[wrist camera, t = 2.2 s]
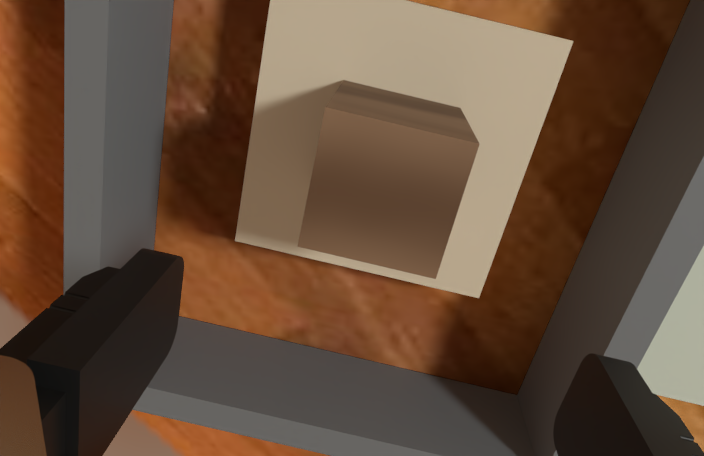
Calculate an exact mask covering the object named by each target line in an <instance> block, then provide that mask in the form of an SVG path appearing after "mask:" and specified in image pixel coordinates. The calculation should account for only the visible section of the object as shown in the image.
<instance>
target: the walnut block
mask: <svg viewBox="0 0 704 456" xmlns="http://www.w3.org/2000/svg"><path fill="white" fill-rule="evenodd" d="M478 147H479V142H478V140H477V138H476V136H475V134H474V132H473V131H472V129H471V127H470V125H469V123H468V121H467V119H466V117H465V116H464V114H463V112H462V110H461V108H459V107H455V106H450V105H446V104H442V103H438V102H434V101H430V100H425V99H421V98H417V97H413V96H409V95H405V94H400V93H396V92H392V91H388V90H384V89H379V88H375V87H371V86H367V85H363V84H359V83H354V82H350V81H346V80H343V81H342V83H341V84H340V86H339V87H338V89H337V90H336V92H335V93H334V95H333V96H332V98H331V99H330V101H329V102H328V104H327V105H326V107H325V111H324V116H323V121H322V126H321V131H320V136H319V141H318V146H317V151H316V156H315V161H314V166H313V171H312V176H311V181H310V186H309V191H308V196H307V201H306V206H305V211H304V216H303V221H302V226H301V231H300V236H299V241H298V246H297V247H301V248H306V249H310V250H314V251H318V252H322V253H327V254H331V255H335V256H339V257H344V258H348V259H352V260H356V261H361V262H365V263H369V264H373V265H378V266H382V267H386V268H390V269H395V270H399V271H403V272H407V273H412V274H416V275H420V276H424V277H429V278H433V279H436V277H437V274H438V271H439V268H440V264H441V261H442V258H443V255H444V252H445V249H446V246H447V243H448V240H449V237H450V234H451V231H452V228H453V224H454V221H455V218H456V215H457V212H458V209H459V206H460V203H461V200H462V197H463V194H464V191H465V187H466V184H467V181H468V178H469V175H470V172H471V169H472V166H473V163H474V160H475V157H476V154H477V151H478Z"/></svg>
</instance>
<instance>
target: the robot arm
mask: <svg viewBox="0 0 704 456" xmlns="http://www.w3.org/2000/svg"><path fill="white" fill-rule="evenodd" d="M183 271H184V261H183V258H182V257H180V256H176V255H172V254H167V253H163V252H159V251H154V250H150V249H146V248H143V249H141V250H139V251H138V252H137V253H136V254H135V255H134V256H133V257H132V258H131V259H130V260H129V261H128V262H127V263H126V264H125V265H124V266H123V267H122V268H121V269H118V268H113V267H109V266H108V267H105V268H103V269H100V270H98V271H95V272H93V273H91V274H88V275H86V276H83V277H82V278H81V279H79V280H78V281H77V282H76V283H75V284H74V285H73V286H71V287H70V288H69V289H68V290H67V291H66V292H65V295H61V296H60V297H59V298H58V299H57V300H55V301H54V302H53V303H52V304H51V305H50V308H49V309H48V308H46V309H45V310H44V311H43V312H42V313H41V314H39V315H38V316H37V317H36V318H35V319H34V320H33V321H31V322H30V323H29V324H28V325H27V326H26V327H25V328H23V329H22V330H21V331H20V332H19V333H18V334H17V335H15V336H14V337H13V338H12V339H11V340H10V341H9V342H8V343H6V344H5V345H4V346H3V347H2V348H1V349H0V456H102V455H103V454H104V452H105V451H106V449H107V448H108V446H109V445H110V443H111V441H112V440H113V438H114V437H115V435H116V434H117V432H118V431H119V429H120V428H121V426H122V425H123V423H124V422H125V420H126V418H127V417H128V415H129V414H130V412H131V411H132V409H133V408H134V406H135V405H136V403H137V402H138V400H139V399H140V397H141V395H142V394H143V392H144V391H145V389H146V388H147V386H148V385H149V383H150V382H151V380H152V379H153V377H154V375H155V374H156V372H157V371H158V369H159V368H160V366H161V365H162V363H163V362H164V360H165V359H166V357H167V355H168V353H169V352H170V349H171V347H172V344H173V342H174V339H175V335H176V331H177V326H178V318H179V309H180V300H181V290H182V281H183ZM553 438H554V445H555V448H556V451H557V454H558V456H704V453H703V451H702V450H701V448H700V447H699V445H698V444H697V443H694V438H693V436H692V435H691V433H690V432H689V430H688V429H687V427H686V426H685V424H684V423H683V421H682V420H681V418H680V417H679V416H678V415H677V414H676V413H675V412H674V411H673V410H672V409H671V408H670V407H669V406H668V405H666V404H665V403H664V402H663V401H662V400H661V399H660V398H659V397H658V396H657V395H656V394H653V393H652V392H651V390H650V389H649V387H648V385H647V384H646V382H645V381H644V379H643V378H642V376H641V375H640V373H639V371H638V370H637V368H636V367H635V366H634V364H632V363H631V362H628V361H624V360H619V359H615V358H611V357H607V356H602V355H598V354H594V353H590V354H588V355H586V356H585V357H584V359H583V360H582V362H581V363H580V366H579V368H578V370H577V372H576V374H575V376H574V378H573V380H572V382H571V384H570V387H569V389H568V391H567V393H566V395H565V397H564V399H563V401H562V403H561V405H560V408H559V410H558V412H557V414H556V417H555V422H554V429H553Z"/></svg>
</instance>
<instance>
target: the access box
mask: <svg viewBox="0 0 704 456" xmlns="http://www.w3.org/2000/svg"><path fill="white" fill-rule="evenodd" d="M173 3H174V0H65V39H64V295H65V292H66V291H67V290H68V289H69V288H70V287H71V286H73V285H74V284H75V283H76V282H77V281H78V280H79V279H81V278H82V277H83V276H86V275H88V274H91V273H93V272H95V271H98V270H100V269H103V268H105V267H108V266H109V267H113V268H118V269H121V268H122V267H123V266H124V265H125V264H126V263H127V262H128V261H129V260H130V259H131V258H132V257H133V256H134V255H135V254H136V253H137V252H138V251H139V250H141V249H143V248H146V249H150V250H154V242H155V229H156V217H157V204H158V192H159V179H160V166H161V154H162V141H163V129H164V116H165V104H166V91H167V78H168V66H169V53H170V41H171V28H172V16H173ZM572 44H573V41H571V40H567V39H564V38H560V37H556V36H552V35H548V34H544V33H540V32H535V31H531V30H527V29H523V28H519V27H515V26H511V25H507V24H502V23H498V22H494V21H490V20H486V19H482V18H478V17H473V16H469V15H465V14H461V13H457V12H453V11H449V10H444V9H440V8H436V7H432V6H428V5H424V4H420V3H415V2H411V1H407V0H270V5H269V12H268V19H267V25H266V32H265V39H264V46H263V53H262V59H261V66H260V73H259V80H258V87H257V94H256V100H255V107H254V114H253V121H252V128H251V135H250V141H249V148H248V155H247V162H246V169H245V175H244V182H243V189H242V196H241V203H240V210H239V216H238V223H237V230H236V237H235V241H237V242H242V243H246V244H250V245H254V246H259V247H263V248H267V249H271V250H276V251H280V252H284V253H288V254H293V255H297V256H301V257H305V258H310V259H314V260H318V261H322V262H327V263H331V264H335V265H339V266H344V267H348V268H352V269H356V270H361V271H365V272H369V273H373V274H378V275H382V276H386V277H390V278H395V279H399V280H403V281H407V282H412V283H416V284H420V285H424V286H429V287H433V288H437V289H441V290H446V291H450V292H454V293H458V294H463V295H467V296H471V297H475V298H479V297H480V294H481V291H482V289H483V286H484V283H485V281H486V278H487V275H488V272H489V270H490V267H491V264H492V262H493V259H494V256H495V253H496V251H497V248H498V245H499V243H500V240H501V237H502V234H503V232H504V229H505V226H506V223H507V221H508V218H509V215H510V213H511V210H512V207H513V204H514V202H515V199H516V196H517V194H518V191H519V188H520V185H521V183H522V180H523V177H524V175H525V172H526V169H527V166H528V164H529V161H530V158H531V156H532V153H533V150H534V147H535V145H536V142H537V139H538V137H539V134H540V131H541V128H542V126H543V123H544V120H545V118H546V115H547V112H548V109H549V107H550V104H551V101H552V98H553V96H554V93H555V90H556V88H557V85H558V82H559V79H560V77H561V74H562V71H563V69H564V66H565V63H566V60H567V58H568V55H569V52H570V50H571V47H572ZM343 80H346V81H350V82H354V83H359V84H363V85H367V86H371V87H375V88H379V89H384V90H388V91H392V92H396V93H400V94H405V95H409V96H413V97H417V98H421V99H425V100H430V101H434V102H438V103H442V104H446V105H450V106H455V107H459V108H461V110H462V112H463V114H464V116H465V117H466V119H467V121H468V123H469V125H470V127H471V129H472V131H473V132H474V134H475V136H476V138H477V140H478V142H479V147H478V151H477V154H476V157H475V160H474V163H473V166H472V169H471V172H470V175H469V178H468V181H467V184H466V187H465V191H464V194H463V197H462V200H461V203H460V206H459V209H458V212H457V215H456V218H455V221H454V224H453V228H452V231H451V234H450V237H449V240H448V243H447V246H446V249H445V252H444V255H443V258H442V261H441V264H440V268H439V271H438V274H437V277H436V279H433V278H429V277H424V276H420V275H416V274H412V273H407V272H403V271H399V270H395V269H390V268H386V267H382V266H378V265H373V264H369V263H365V262H361V261H356V260H352V259H348V258H344V257H339V256H335V255H331V254H327V253H322V252H318V251H314V250H310V249H306V248H301V247H297V246H298V241H299V236H300V231H301V226H302V221H303V216H304V211H305V206H306V201H307V196H308V191H309V186H310V181H311V176H312V171H313V166H314V161H315V156H316V151H317V146H318V141H319V136H320V131H321V126H322V121H323V116H324V111H325V107H326V105H327V104H328V102H329V101H330V99H331V98H332V96H333V95H334V93H335V92H336V90H337V89H338V87H339V86H340V84H341V83H342V81H343ZM703 246H704V0H690V2H689V4H688V7H687V9H686V11H685V14H684V16H683V18H682V20H681V23H680V25H679V27H678V30H677V32H676V34H675V36H674V39H673V41H672V43H671V46H670V48H669V50H668V52H667V55H666V57H665V59H664V61H663V64H662V66H661V68H660V71H659V73H658V75H657V77H656V80H655V82H654V84H653V87H652V89H651V91H650V93H649V96H648V98H647V100H646V103H645V105H644V107H643V109H642V112H641V114H640V116H639V118H638V121H637V123H636V125H635V128H634V130H633V132H632V134H631V137H630V139H629V141H628V144H627V146H626V148H625V150H624V153H623V155H622V157H621V160H620V162H619V164H618V166H617V169H616V171H615V173H614V175H613V178H612V180H611V182H610V185H609V187H608V189H607V191H606V194H605V196H604V198H603V201H602V203H601V205H600V207H599V210H598V212H597V214H596V216H595V219H594V221H593V223H592V226H591V228H590V230H589V232H588V235H587V237H586V239H585V242H584V244H583V246H582V248H581V251H580V253H579V255H578V258H577V260H576V262H575V264H574V267H573V269H572V271H571V273H570V276H569V278H568V280H567V283H566V285H565V287H564V289H563V292H562V294H561V296H560V299H559V301H558V303H557V305H556V308H555V310H554V312H553V315H552V317H551V319H550V321H549V324H548V326H547V328H546V330H545V333H544V335H543V337H542V340H541V342H540V344H539V346H538V349H537V351H536V353H535V356H534V358H533V360H532V362H531V365H530V367H529V369H528V372H527V374H526V376H525V378H524V381H523V383H522V385H521V387H520V390H519V392H518V394H517V395H515V394H510V393H506V392H502V391H497V390H493V389H489V388H485V387H480V386H476V385H472V384H467V383H463V382H459V381H455V380H450V379H446V378H442V377H437V376H433V375H429V374H425V373H420V372H416V371H412V370H407V369H403V368H399V367H395V366H390V365H386V364H382V363H378V362H373V361H369V360H365V359H360V358H356V357H352V356H348V355H343V354H339V353H335V352H330V351H326V350H322V349H318V348H313V347H309V346H305V345H300V344H296V343H292V342H288V341H283V340H279V339H275V338H270V337H266V336H262V335H258V334H253V333H249V332H245V331H241V330H236V329H232V328H228V327H223V326H219V325H215V324H211V323H206V322H202V321H198V320H193V319H189V318H185V317H181V316H179V318H178V326H177V331H176V335H175V339H174V342H173V344H172V347H171V349H170V352H169V353H168V355H167V357H166V359H165V360H164V362H163V363H162V365H161V366H160V368H159V369H158V371H157V372H156V374H155V375H154V377H153V379H152V380H151V382H150V383H149V385H148V386H147V388H146V389H145V391H144V392H143V394H142V395H141V397H140V399H139V400H138V402H137V403H136V405H135V406H134V408H133V409H132V410H136V411H141V412H145V413H149V414H154V415H158V416H162V417H167V418H171V419H175V420H180V421H184V422H188V423H193V424H197V425H201V426H206V427H210V428H214V429H219V430H223V431H227V432H231V433H236V434H240V435H244V436H249V437H253V438H257V439H262V440H266V441H270V442H275V443H279V444H283V445H288V446H292V447H296V448H301V449H305V450H309V451H314V452H318V453H322V454H327V455H331V456H558V454H557V451H556V448H555V445H554V438H553V429H554V422H555V417H556V414H557V412H558V410H559V408H560V405H561V403H562V401H563V399H564V397H565V395H566V393H567V391H568V389H569V387H570V384H571V382H572V380H573V378H574V376H575V374H576V372H577V370H578V368H579V366H580V363H581V362H582V360H583V359H584V357H585V356H586V355H588V354H590V353H594V354H598V355H602V356H607V357H611V358H615V359H619V360H624V361H628V362H631V363H632V364H634V366H635V367H636V368H638V366H639V364H640V362H641V360H642V359H643V357H644V355H645V353H646V351H647V349H648V348H649V346H650V344H651V342H652V340H653V338H654V336H655V335H656V333H657V331H658V329H659V327H660V325H661V323H662V322H663V320H664V318H665V316H666V314H667V312H668V310H669V309H670V307H671V305H672V303H673V301H674V299H675V298H676V296H677V294H678V292H679V290H680V288H681V286H682V285H683V283H684V281H685V279H686V277H687V275H688V273H689V272H690V270H691V268H692V266H693V264H694V262H695V260H696V259H697V257H698V255H699V253H700V251H701V249H702V248H703Z"/></svg>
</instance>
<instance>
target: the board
mask: <svg viewBox="0 0 704 456" xmlns="http://www.w3.org/2000/svg"><path fill="white" fill-rule="evenodd" d="M637 370H638V371H639V373H640V375H641V376H642V378H643V379H644V381H645V382H646V384H647V385H648V387H649V389H650V390H651V392H652V393H653V394H656V395H660V396H664V397H668V398H673V399H677V400H681V401H685V402H690V403H694V404H698V405H702V406H704V246H703V248H702V249H701V251H700V253H699V255H698V257H697V259H696V260H695V262H694V264H693V266H692V268H691V270H690V272H689V273H688V275H687V277H686V279H685V281H684V283H683V285H682V286H681V288H680V290H679V292H678V294H677V296H676V298H675V299H674V301H673V303H672V305H671V307H670V309H669V310H668V312H667V314H666V316H665V318H664V320H663V322H662V323H661V325H660V327H659V329H658V331H657V333H656V335H655V336H654V338H653V340H652V342H651V344H650V346H649V348H648V349H647V351H646V353H645V355H644V357H643V359H642V360H641V362H640V364H639V366H638V368H637Z"/></svg>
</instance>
